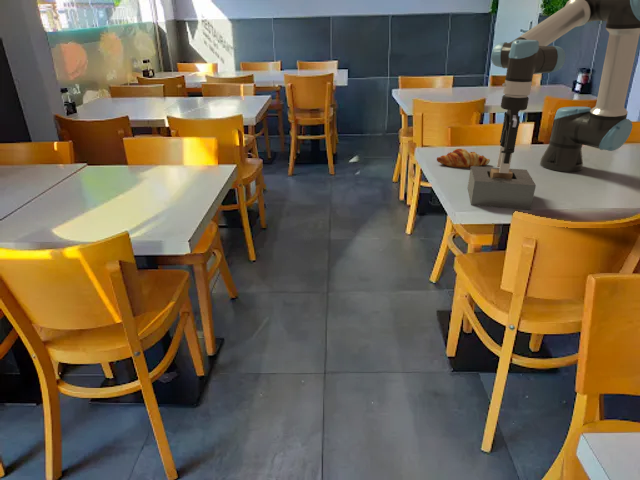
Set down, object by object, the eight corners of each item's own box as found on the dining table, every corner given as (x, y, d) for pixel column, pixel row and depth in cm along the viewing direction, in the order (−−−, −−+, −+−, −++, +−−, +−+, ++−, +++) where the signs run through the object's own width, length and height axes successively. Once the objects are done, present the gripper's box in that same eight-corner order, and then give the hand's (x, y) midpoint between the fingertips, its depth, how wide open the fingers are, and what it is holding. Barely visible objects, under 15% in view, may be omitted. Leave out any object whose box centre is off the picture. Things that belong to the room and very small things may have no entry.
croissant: (484, 171, 198) (484, 152, 198) (494, 166, 188) (494, 146, 188) (433, 170, 197) (433, 150, 197) (440, 165, 187) (440, 145, 187)
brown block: (506, 187, 160) (510, 169, 157) (509, 191, 156) (512, 173, 154) (488, 186, 161) (491, 168, 158) (490, 190, 157) (493, 172, 154)
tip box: (522, 192, 165) (526, 169, 162) (530, 209, 151) (535, 185, 148) (467, 188, 168) (470, 166, 165) (470, 204, 154) (474, 180, 151)
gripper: (498, 90, 154) (487, 161, 164) (507, 100, 138) (493, 178, 148) (523, 91, 153) (510, 162, 163) (534, 101, 137) (519, 179, 147)
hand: (502, 169), depth 156 cm, fingers open, 5 cm apart
